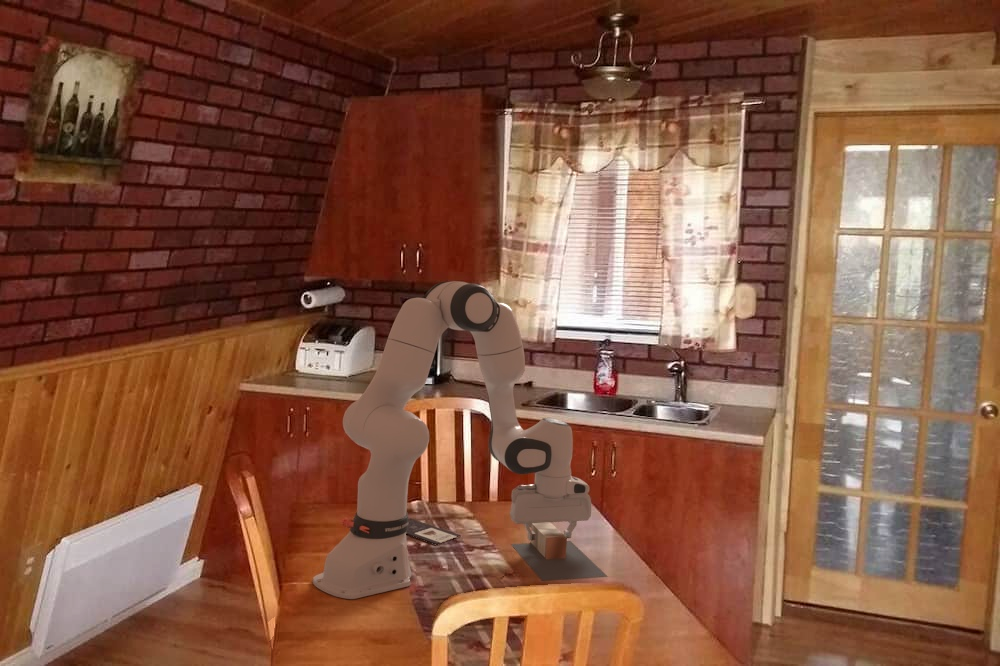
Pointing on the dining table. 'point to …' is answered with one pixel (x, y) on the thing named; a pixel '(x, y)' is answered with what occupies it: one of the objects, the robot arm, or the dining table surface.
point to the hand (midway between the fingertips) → (549, 538)
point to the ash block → (549, 540)
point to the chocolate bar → (428, 532)
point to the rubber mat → (559, 563)
